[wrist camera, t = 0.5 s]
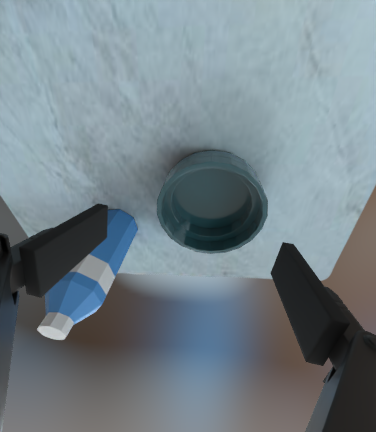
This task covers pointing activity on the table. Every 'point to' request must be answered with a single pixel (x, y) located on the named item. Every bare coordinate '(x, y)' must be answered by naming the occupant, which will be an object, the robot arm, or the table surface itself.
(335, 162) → the table surface
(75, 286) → the water bottle
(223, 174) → the wash bowl
